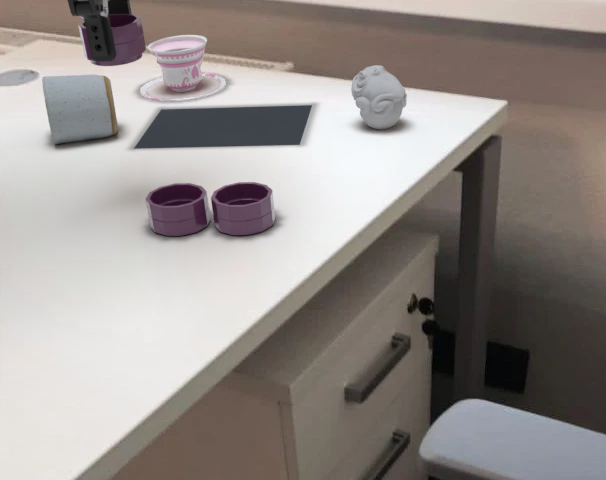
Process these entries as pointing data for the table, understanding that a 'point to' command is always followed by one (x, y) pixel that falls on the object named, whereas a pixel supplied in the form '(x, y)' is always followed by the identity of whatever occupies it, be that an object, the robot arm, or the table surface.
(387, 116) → the frog figurine
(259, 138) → the mat
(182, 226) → the dish middle
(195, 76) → the teacup
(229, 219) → the dish right
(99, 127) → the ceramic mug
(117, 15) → the dish left
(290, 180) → the table surface
